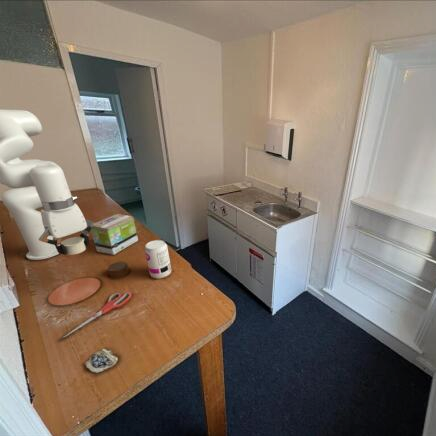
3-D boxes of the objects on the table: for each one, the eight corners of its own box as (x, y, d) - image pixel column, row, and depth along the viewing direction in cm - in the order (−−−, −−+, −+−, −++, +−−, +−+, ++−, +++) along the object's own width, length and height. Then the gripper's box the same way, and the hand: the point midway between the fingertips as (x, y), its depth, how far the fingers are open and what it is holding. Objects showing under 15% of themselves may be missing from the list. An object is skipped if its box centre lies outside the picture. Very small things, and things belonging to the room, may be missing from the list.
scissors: (60, 339, 71) (58, 335, 71) (117, 292, 90) (116, 289, 90) (81, 344, 70) (80, 340, 70) (135, 295, 89) (134, 292, 89)
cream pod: (60, 252, 84) (56, 242, 82) (80, 244, 89) (77, 235, 87) (70, 257, 81) (67, 247, 80) (91, 248, 87) (88, 239, 85)
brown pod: (106, 275, 98) (103, 268, 96) (122, 267, 104) (119, 259, 102) (117, 280, 96) (114, 272, 94) (132, 271, 102) (130, 264, 100)
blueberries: (100, 348, 70) (98, 343, 69) (125, 351, 69) (123, 347, 68) (79, 370, 63) (77, 366, 63) (107, 374, 63) (105, 370, 62)
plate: (39, 297, 85) (38, 296, 85) (85, 274, 98) (85, 273, 98) (64, 311, 80) (63, 310, 80) (109, 285, 93) (109, 284, 93)
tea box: (114, 255, 111) (106, 228, 105) (96, 252, 112) (87, 225, 106) (139, 240, 124) (133, 215, 118) (123, 237, 126) (116, 212, 120)
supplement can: (150, 281, 97) (143, 251, 90) (150, 270, 103) (144, 241, 97) (172, 276, 100) (166, 247, 94) (171, 266, 107) (166, 237, 101)
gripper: (81, 194, 86) (95, 236, 93) (16, 209, 71) (38, 257, 79) (94, 198, 83) (107, 241, 91) (29, 214, 69) (51, 264, 76)
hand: (75, 248), depth 85 cm, fingers closed on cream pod, 6 cm apart
